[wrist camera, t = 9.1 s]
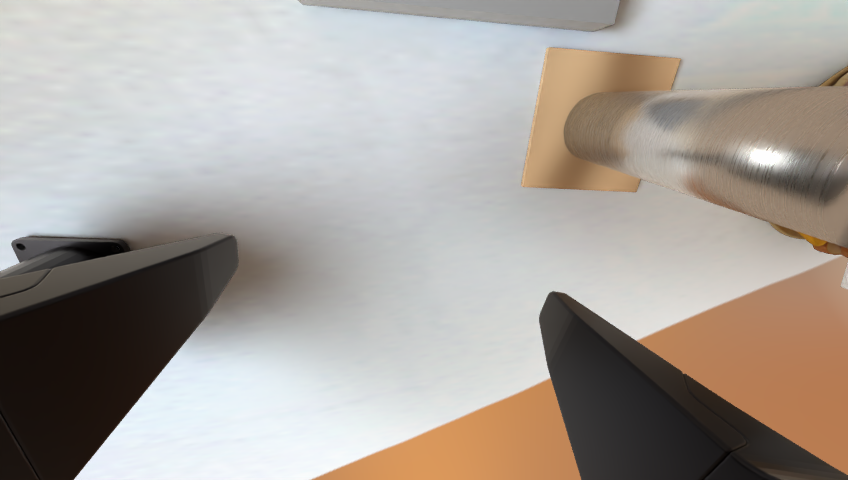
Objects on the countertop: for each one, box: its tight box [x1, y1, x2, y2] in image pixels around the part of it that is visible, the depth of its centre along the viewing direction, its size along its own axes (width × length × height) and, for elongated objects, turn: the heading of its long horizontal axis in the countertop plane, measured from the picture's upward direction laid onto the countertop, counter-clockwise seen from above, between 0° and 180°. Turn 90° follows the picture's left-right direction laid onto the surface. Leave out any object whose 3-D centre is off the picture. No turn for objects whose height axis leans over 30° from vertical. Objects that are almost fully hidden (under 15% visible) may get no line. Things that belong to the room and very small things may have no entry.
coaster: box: [521, 47, 681, 192], centre depth 20 cm, size 8×8×1 cm
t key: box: [564, 86, 848, 289], centre depth 13 cm, size 4×6×15 cm, turn 16°
